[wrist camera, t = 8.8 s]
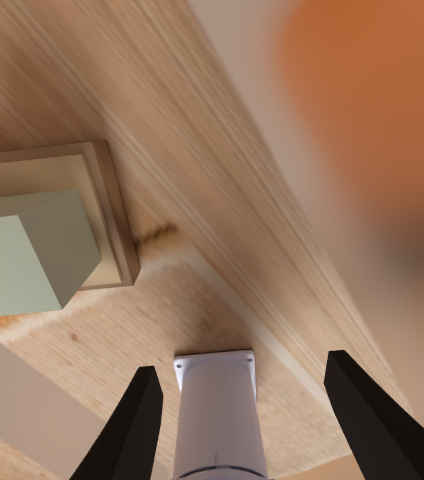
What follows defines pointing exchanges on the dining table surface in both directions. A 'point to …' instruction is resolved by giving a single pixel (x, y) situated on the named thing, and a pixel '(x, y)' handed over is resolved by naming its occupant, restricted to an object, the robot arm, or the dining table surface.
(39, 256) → the sage block
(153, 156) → the dining table surface
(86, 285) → the plinth
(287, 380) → the dining table surface
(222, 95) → the dining table surface
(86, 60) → the dining table surface
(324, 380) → the robot arm
